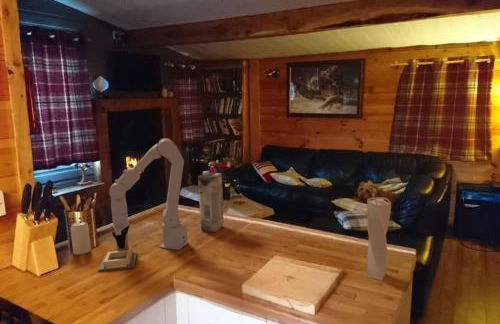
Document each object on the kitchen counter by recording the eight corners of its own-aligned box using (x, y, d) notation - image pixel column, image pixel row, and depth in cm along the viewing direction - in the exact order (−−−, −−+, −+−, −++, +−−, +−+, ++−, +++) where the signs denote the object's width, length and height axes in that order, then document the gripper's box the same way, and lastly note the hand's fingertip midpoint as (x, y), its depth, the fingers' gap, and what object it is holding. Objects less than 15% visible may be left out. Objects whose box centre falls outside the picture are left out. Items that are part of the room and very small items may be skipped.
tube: (131, 249, 149) (129, 231, 147) (124, 254, 145) (122, 235, 143) (122, 248, 150) (120, 229, 149) (114, 253, 146) (113, 233, 145)
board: (137, 254, 144) (136, 247, 144) (133, 268, 133) (132, 260, 132) (105, 257, 142) (104, 250, 142) (98, 271, 131) (97, 264, 130)
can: (84, 255, 144) (80, 226, 142) (69, 254, 146) (66, 225, 143) (94, 249, 150) (91, 221, 148) (80, 248, 152) (77, 220, 150)
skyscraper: (384, 283, 117) (388, 199, 112) (361, 278, 121) (364, 196, 116) (390, 273, 124) (394, 193, 119) (367, 268, 128) (370, 190, 123)
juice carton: (225, 225, 174) (223, 169, 169) (216, 233, 164) (213, 174, 159) (208, 223, 177) (205, 168, 172) (198, 231, 167) (195, 173, 162)
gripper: (112, 208, 151) (115, 239, 153) (105, 219, 137) (108, 254, 139) (130, 207, 152) (132, 238, 155) (125, 218, 138) (128, 252, 141)
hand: (122, 245), depth 147 cm, fingers closed on tube, 4 cm apart
